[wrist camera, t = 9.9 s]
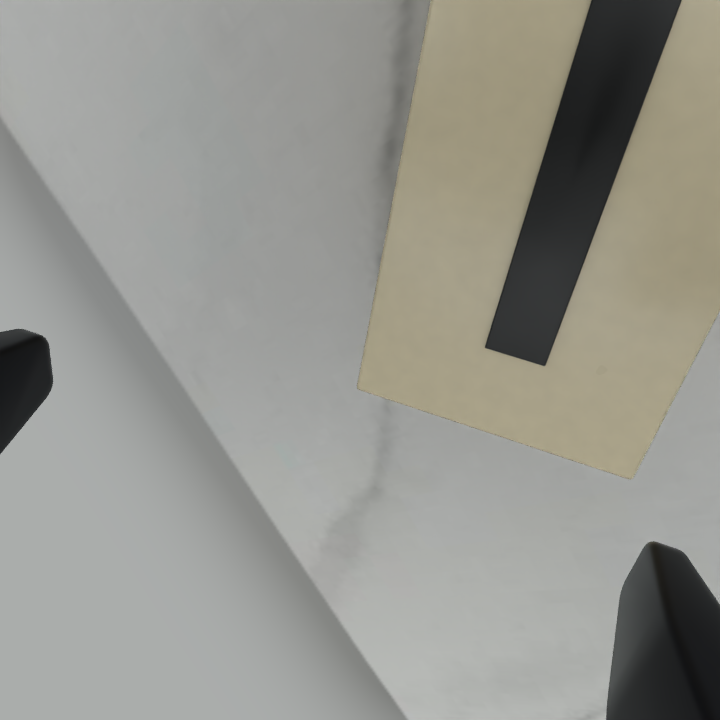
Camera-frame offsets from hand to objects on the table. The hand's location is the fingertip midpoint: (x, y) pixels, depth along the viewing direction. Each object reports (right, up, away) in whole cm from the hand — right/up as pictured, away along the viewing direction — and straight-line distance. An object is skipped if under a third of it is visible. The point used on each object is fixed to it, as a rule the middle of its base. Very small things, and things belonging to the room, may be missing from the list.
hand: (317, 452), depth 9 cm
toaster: (+6, +8, +7) cm, 12 cm away
